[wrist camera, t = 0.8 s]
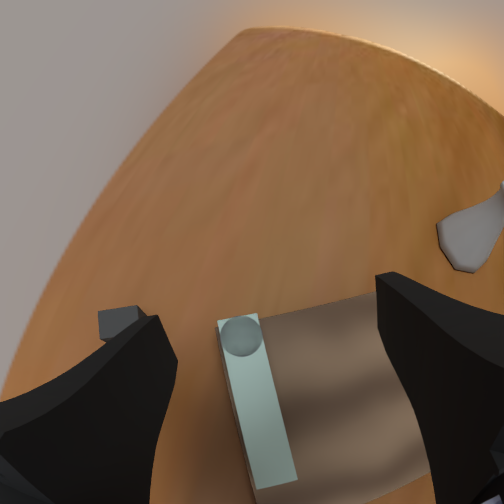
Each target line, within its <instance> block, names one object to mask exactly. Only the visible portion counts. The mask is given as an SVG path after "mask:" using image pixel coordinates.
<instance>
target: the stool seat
mask: <svg viewBox="0 0 504 504" xmlns="http://www.w3.org/2000/svg"><path fill="white" fill-rule="evenodd" d="M258 320H259V324H260V327H261V330H262V334H263V341H264V345H265V349H266V353H267V357H268V361H269V366H270V370H271V374H272V378H273V382H274V386H275V390H276V394H277V398H278V402H279V406H280V410H281V414H282V418H283V422H284V426H285V430H286V434H287V438H288V442H289V446H290V450H291V454H292V458H293V462H294V466H295V470H296V474H297V478H298V480H295V481H291V482H287V483H283V484H279V485H275V486H271V487H267V488H262V489H256V485H255V481H254V478H253V474H252V470H251V466H250V462H249V458H248V454H247V451H246V447H245V443H244V439H243V434H242V430H241V426H240V422H239V418H238V414H237V409H236V405H235V401H234V396H233V392H232V388H231V383H230V379H229V374H228V370H227V365H226V360H225V356H224V351H223V349H222V345H221V340H220V332H219V327H216V328H215V330H216V335H217V340H218V345H219V349H220V354H221V359H222V364H223V368H224V373H225V378H226V382H227V387H228V391H229V396H230V400H231V404H232V409H233V413H234V417H235V421H236V426H237V430H238V434H239V438H240V442H241V446H242V450H243V454H244V458H245V462H246V466H247V469H248V473H249V477H250V481H251V485H252V488H253V492H254V496H255V499H256V503H257V504H364V503H367V502H369V501H372V500H374V499H376V498H379V497H381V496H383V495H385V494H387V493H390V492H392V491H394V490H396V489H398V488H400V487H402V486H404V485H406V484H408V483H410V482H412V481H414V480H416V479H418V478H420V477H422V476H423V475H425V474H427V473H429V472H431V471H430V466H429V462H428V458H427V454H426V450H425V446H424V442H423V438H422V435H421V432H420V428H419V425H418V422H417V419H416V415H415V413H414V410H413V408H412V405H411V403H410V401H409V398H408V396H407V394H406V392H405V390H404V388H403V386H402V384H401V382H400V380H399V378H398V376H397V374H396V372H395V370H394V368H393V366H392V364H391V362H390V360H389V358H388V356H387V354H386V351H385V348H384V346H383V343H382V340H381V337H380V334H379V331H378V328H377V299H376V292H372V293H368V294H364V295H360V296H357V297H353V298H349V299H345V300H341V301H337V302H333V303H329V304H324V305H320V306H316V307H312V308H307V309H303V310H299V311H294V312H290V313H285V314H281V315H276V316H271V317H267V318H262V319H258Z"/></svg>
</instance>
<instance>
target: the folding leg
mask: <svg viewBox="0 0 504 504" xmlns="http://www.w3.org/2000/svg"><path fill="white" fill-rule="evenodd" d="M218 327H219V332H220V340H221V345H222V349H223V351H224V356H225V360H226V365H227V370H228V374H229V379H230V383H231V388H232V392H233V396H234V401H235V405H236V409H237V414H238V418H239V422H240V426H241V430H242V434H243V439H244V443H245V447H246V451H247V454H248V458H249V462H250V466H251V470H252V474H253V478H254V481H255V485H256V489H262V488H267V487H271V486H275V485H279V484H283V483H287V482H291V481H295V480H298V478H297V474H296V470H295V466H294V462H293V458H292V454H291V450H290V446H289V442H288V438H287V434H286V430H285V426H284V422H283V418H282V414H281V410H280V406H279V402H278V398H277V394H276V390H275V386H274V382H273V378H272V374H271V370H270V366H269V361H268V357H267V353H266V349H265V345H264V341H263V334H262V330H261V327H260V324H259V320H258V316H257V313H255V314H250V315H245V316H236V317H233V318H229V319H224V320H219V321H218Z"/></svg>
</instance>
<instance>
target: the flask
mask: <svg viewBox="0 0 504 504" xmlns="http://www.w3.org/2000/svg"><path fill="white" fill-rule="evenodd" d="M500 187H501V188H500V190H499V191H498V192H497V193H496V194H495V195H494V196H492V197H491V198H489V199H488V200H486V201H484V202H482V203H479V204H477V205H475V206H472V207H470V208H467V209H464V210H461V211H459V212H456V213H453V214H451V215H449V216H447V217H446V218H444V219H443V220H441V221H440V222H438V223H437V229H438V235H439V242H440V247H441V249H442V250H443V252H444V253H445V255H446V256H447V258H448V259H449V261H450V262H451V264H452V265H453V267H454V268H455V269H456V270H461V271H466V272H472V273H475V272H476V271H477V270H478V269H479V268H480V267H481V266H482V265H483V264H484V263H485V262H486V261H487V259H488V257H489V255H490V253H491V251H492V249H493V247H494V245H495V243H496V241H497V239H498V237H499V235H500V233H501V231H502V229H503V227H504V181H503V182H502V183H501V185H500Z"/></svg>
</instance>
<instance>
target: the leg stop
mask: <svg viewBox="0 0 504 504" xmlns="http://www.w3.org/2000/svg"><path fill="white" fill-rule="evenodd" d="M145 316H147V315H146V314H145V313H144V312H143V311H142V310H141V309H140V308H139V307H138V306H137V305H135V306H129V307H122V308H116V309H110V310H103V311H98V321H99V334H100V339H101V340H103V341H105V342H106V343H107V342H108V341H109V340H111V339H112V338H113V337H115V336H116V335H117V334H118V333H120V332H121V331H122V330H124V329H125V328H126V327H128V326H129V325H130V324H132V323H133V322H135V321H136V320H138V319H140V318H142V317H145Z"/></svg>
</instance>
